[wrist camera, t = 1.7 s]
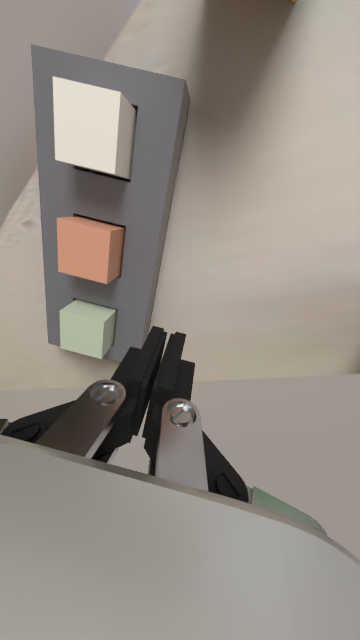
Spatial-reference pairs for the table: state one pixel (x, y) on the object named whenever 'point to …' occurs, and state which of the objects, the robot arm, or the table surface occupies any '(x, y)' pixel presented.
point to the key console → (110, 190)
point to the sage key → (87, 328)
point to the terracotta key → (90, 248)
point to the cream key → (93, 127)
